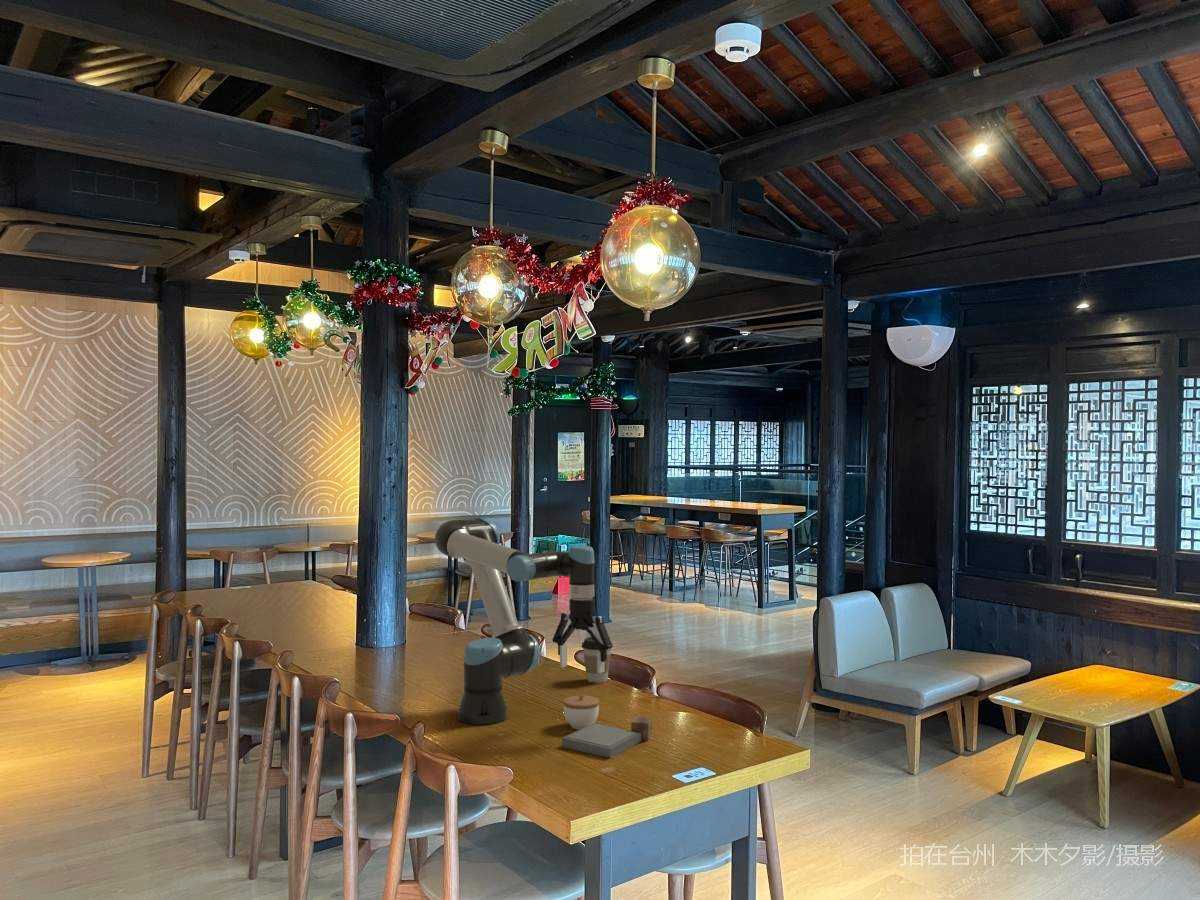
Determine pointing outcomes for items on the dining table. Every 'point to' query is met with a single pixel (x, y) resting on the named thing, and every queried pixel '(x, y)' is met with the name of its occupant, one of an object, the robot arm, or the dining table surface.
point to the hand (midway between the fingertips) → (582, 669)
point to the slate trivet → (601, 740)
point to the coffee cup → (594, 661)
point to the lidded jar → (581, 710)
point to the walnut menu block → (642, 727)
